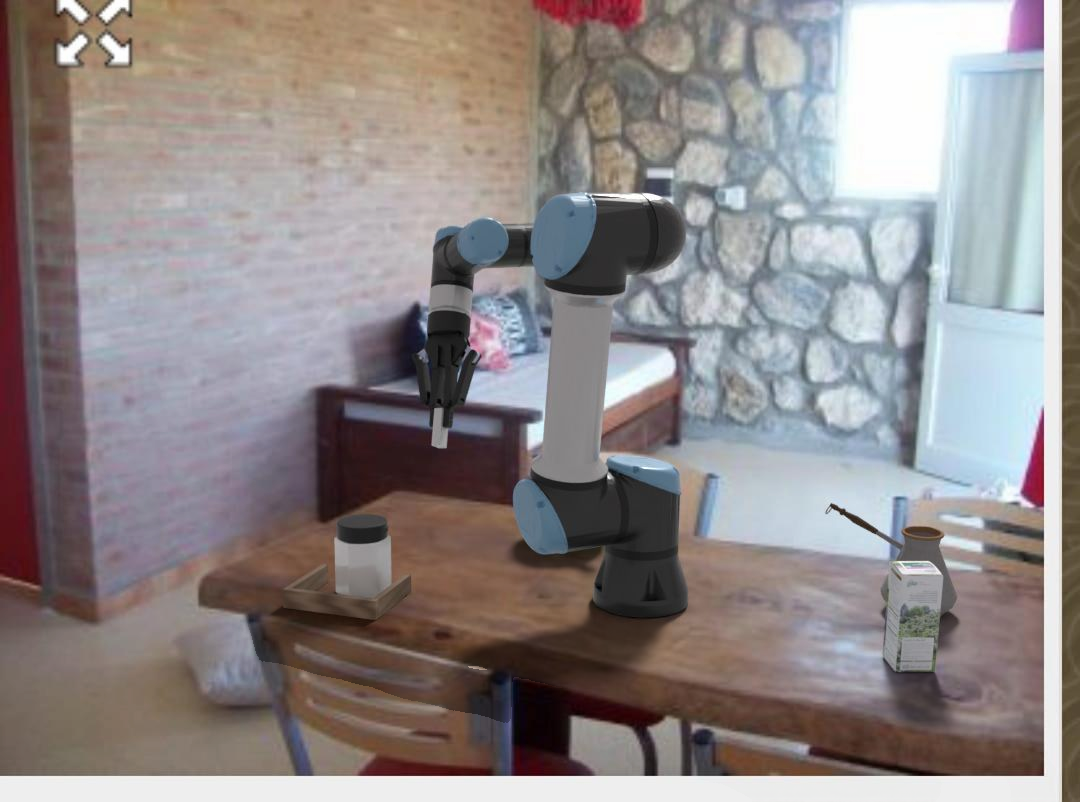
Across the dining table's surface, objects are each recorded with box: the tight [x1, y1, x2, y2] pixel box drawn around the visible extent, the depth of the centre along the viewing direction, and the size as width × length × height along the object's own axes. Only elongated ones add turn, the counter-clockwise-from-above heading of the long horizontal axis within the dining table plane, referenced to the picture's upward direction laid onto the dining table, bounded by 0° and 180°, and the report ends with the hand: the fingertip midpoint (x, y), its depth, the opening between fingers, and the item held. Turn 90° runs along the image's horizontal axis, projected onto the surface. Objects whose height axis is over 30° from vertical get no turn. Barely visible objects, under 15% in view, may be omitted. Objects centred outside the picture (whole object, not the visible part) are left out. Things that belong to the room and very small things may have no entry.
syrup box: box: [882, 560, 943, 673], centre depth 164 cm, size 6×6×14 cm
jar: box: [333, 513, 392, 598], centre depth 192 cm, size 9×8×12 cm
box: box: [282, 563, 412, 621], centre depth 189 cm, size 16×13×3 cm
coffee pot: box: [824, 502, 958, 618], centre depth 188 cm, size 21×12×15 cm, turn 55°
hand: (439, 446), depth 204 cm, fingers closed
